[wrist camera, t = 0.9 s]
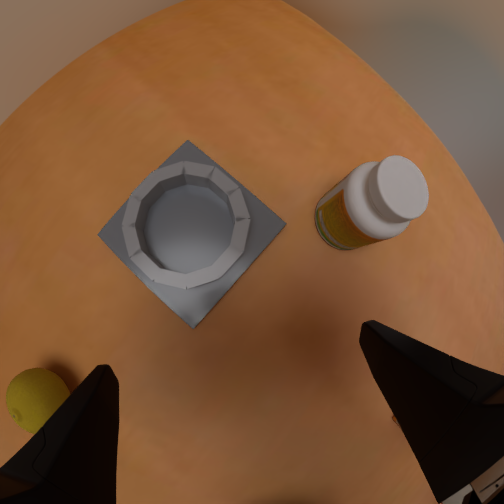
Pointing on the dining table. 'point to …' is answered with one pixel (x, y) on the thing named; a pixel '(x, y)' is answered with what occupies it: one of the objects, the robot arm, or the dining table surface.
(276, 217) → the holder
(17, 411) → the lemon
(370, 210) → the supplement bottle
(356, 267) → the dining table surface
